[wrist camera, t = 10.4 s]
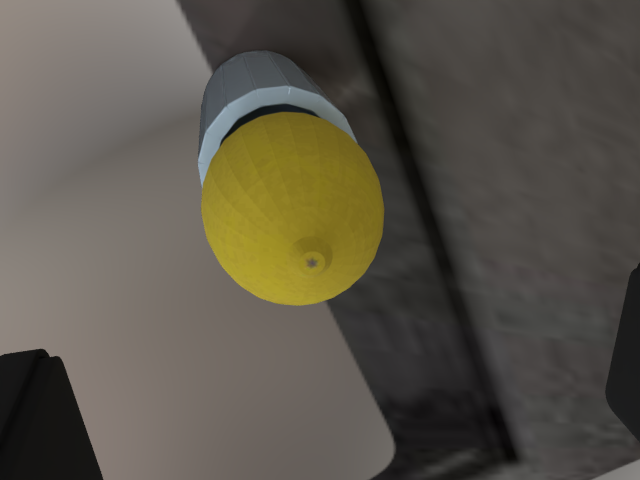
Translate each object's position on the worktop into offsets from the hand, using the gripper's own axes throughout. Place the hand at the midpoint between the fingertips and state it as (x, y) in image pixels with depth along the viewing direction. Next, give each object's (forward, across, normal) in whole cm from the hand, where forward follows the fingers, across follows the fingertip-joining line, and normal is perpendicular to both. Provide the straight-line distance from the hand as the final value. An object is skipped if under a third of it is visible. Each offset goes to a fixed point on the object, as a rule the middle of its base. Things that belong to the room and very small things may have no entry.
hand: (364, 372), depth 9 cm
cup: (+21, 0, +1) cm, 21 cm away
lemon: (+13, 0, +1) cm, 13 cm away
